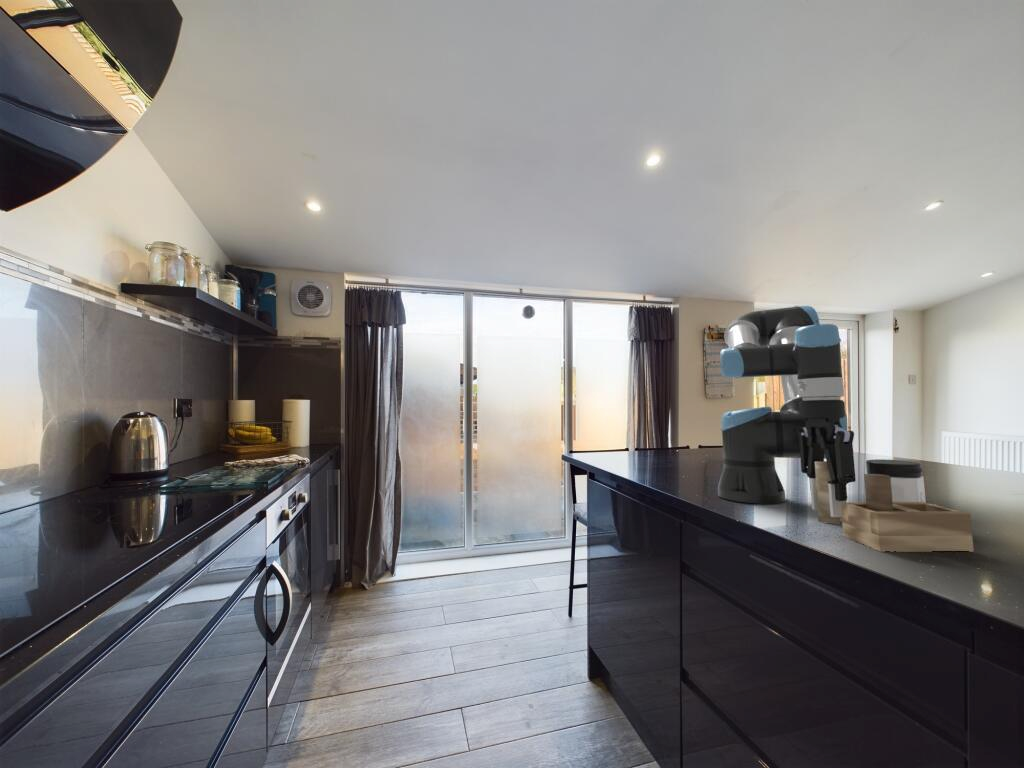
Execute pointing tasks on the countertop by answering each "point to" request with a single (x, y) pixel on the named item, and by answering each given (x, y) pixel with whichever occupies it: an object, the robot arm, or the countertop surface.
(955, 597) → the countertop surface
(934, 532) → the wooden divided box
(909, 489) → the jar
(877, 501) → the stub
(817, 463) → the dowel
